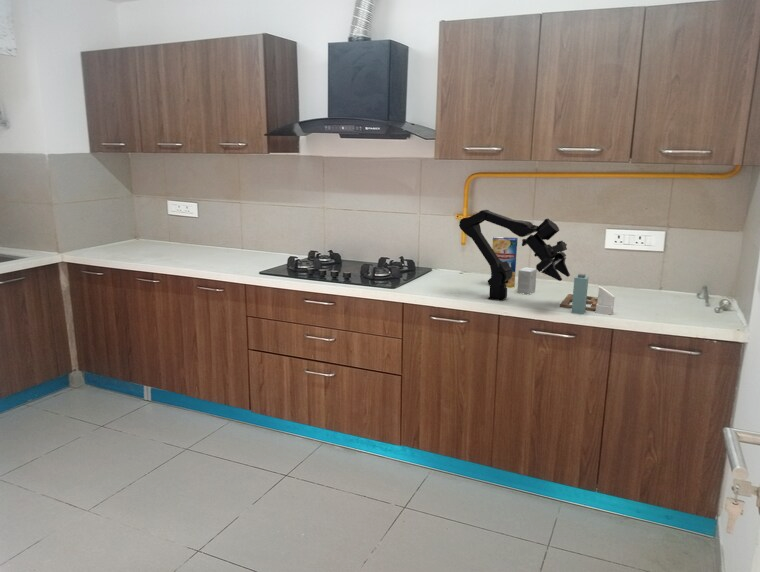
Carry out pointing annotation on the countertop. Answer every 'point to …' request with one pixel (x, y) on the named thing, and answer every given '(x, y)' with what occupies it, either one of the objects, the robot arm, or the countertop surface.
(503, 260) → the beverage box
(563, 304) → the socket board
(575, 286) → the teal tall rectangular block
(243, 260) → the countertop surface
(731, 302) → the countertop surface
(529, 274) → the small box
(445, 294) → the countertop surface
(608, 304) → the white wedge bracket
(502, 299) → the robot arm
